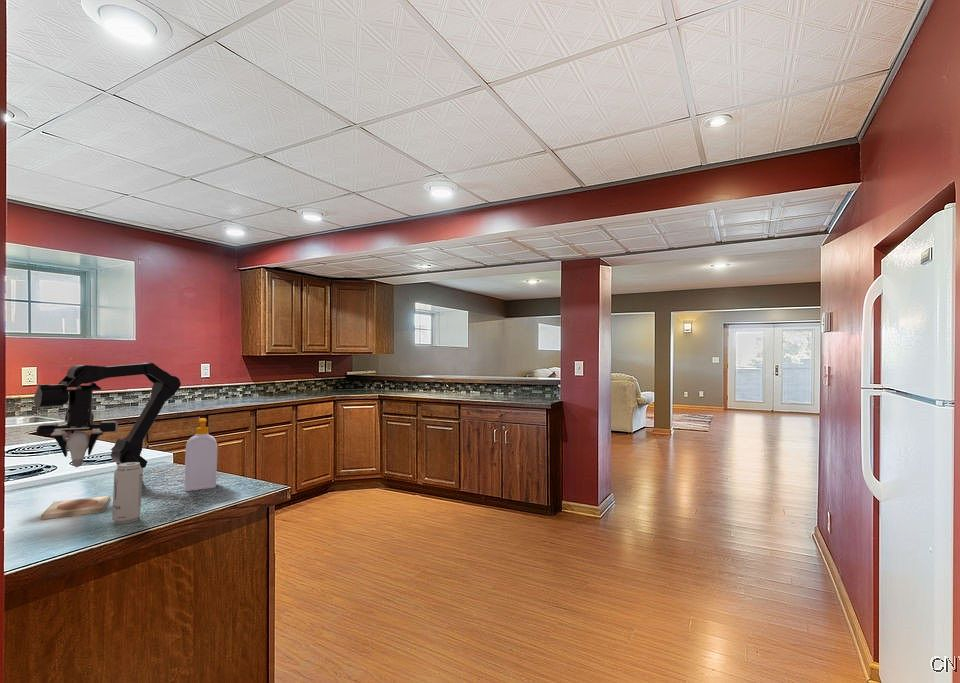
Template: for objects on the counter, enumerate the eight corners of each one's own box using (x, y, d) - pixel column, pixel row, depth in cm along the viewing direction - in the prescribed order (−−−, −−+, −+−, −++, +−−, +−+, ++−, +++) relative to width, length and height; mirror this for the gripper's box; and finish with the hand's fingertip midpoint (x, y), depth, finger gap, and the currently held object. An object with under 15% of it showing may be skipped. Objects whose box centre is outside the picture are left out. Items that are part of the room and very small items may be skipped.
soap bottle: (214, 483, 163) (217, 416, 164) (216, 487, 158) (218, 419, 158) (184, 486, 159) (186, 418, 159) (184, 491, 153) (187, 420, 154)
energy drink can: (110, 520, 125) (113, 463, 126) (138, 515, 130) (140, 460, 130) (113, 526, 121) (116, 467, 122) (142, 521, 125) (144, 464, 126)
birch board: (110, 499, 143) (110, 495, 143) (102, 511, 132) (103, 507, 132) (53, 505, 136) (53, 501, 136) (40, 519, 125) (41, 514, 125)
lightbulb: (94, 466, 148) (96, 430, 148) (72, 470, 142) (74, 433, 142) (81, 464, 150) (83, 429, 150) (59, 468, 144) (61, 432, 144)
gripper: (121, 402, 158) (119, 448, 158) (47, 403, 148) (44, 453, 148) (116, 405, 149) (114, 454, 148) (37, 407, 139) (34, 460, 138)
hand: (77, 455), depth 146 cm, fingers closed on lightbulb, 5 cm apart
